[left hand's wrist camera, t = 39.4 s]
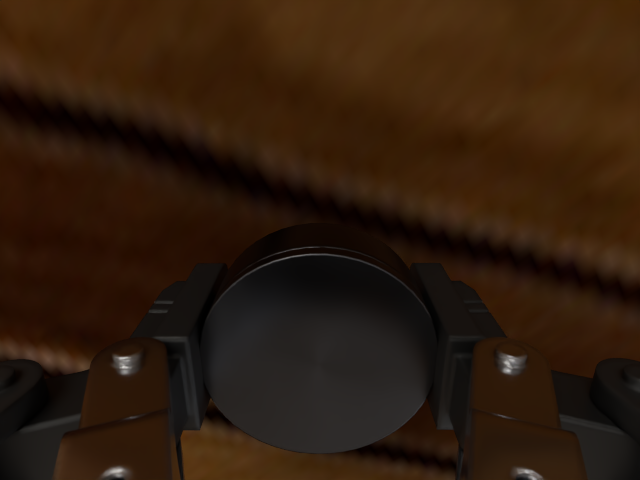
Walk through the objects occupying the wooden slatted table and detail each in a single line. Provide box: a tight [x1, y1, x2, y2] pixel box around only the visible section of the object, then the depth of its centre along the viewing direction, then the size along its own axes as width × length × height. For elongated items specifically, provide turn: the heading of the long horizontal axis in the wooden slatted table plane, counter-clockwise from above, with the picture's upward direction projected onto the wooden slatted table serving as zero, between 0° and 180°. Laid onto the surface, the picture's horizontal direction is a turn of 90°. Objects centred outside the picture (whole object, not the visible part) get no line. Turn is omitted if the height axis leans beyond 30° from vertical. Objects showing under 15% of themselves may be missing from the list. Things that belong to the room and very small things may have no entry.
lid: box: [199, 223, 438, 454], centre depth 10 cm, size 5×5×2 cm
